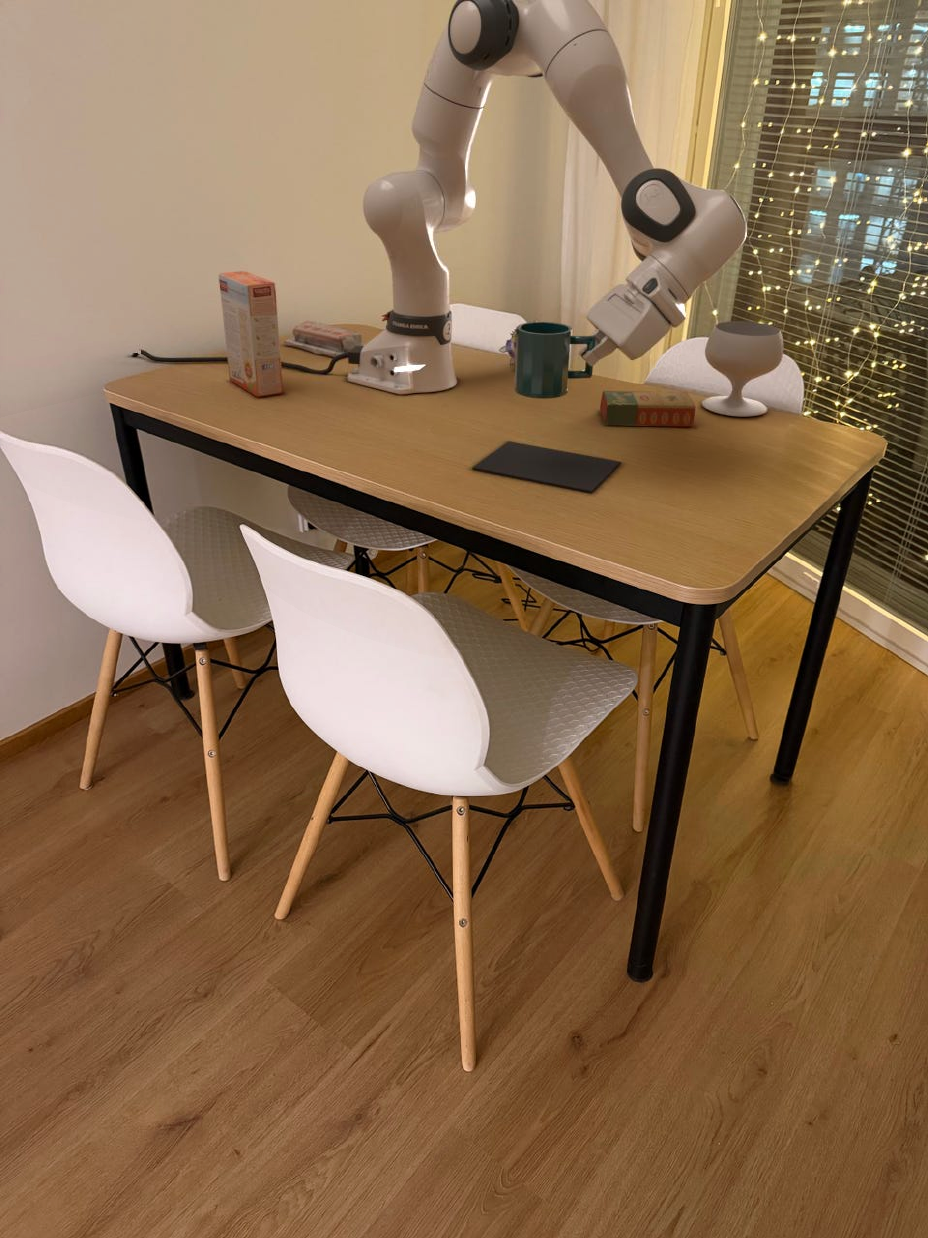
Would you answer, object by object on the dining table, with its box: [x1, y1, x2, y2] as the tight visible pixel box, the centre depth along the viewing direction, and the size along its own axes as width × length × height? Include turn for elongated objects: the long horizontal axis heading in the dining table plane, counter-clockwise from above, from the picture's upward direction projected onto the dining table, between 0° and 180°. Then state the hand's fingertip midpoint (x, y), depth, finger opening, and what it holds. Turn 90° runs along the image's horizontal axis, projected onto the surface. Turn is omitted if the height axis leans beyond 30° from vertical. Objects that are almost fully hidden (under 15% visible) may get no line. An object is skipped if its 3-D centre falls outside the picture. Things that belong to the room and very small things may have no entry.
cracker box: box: [218, 270, 284, 398], centre depth 175 cm, size 14×6×21 cm, turn 34°
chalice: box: [701, 320, 784, 417], centre depth 171 cm, size 14×14×15 cm
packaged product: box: [283, 320, 367, 358], centre depth 206 cm, size 18×5×10 cm
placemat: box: [472, 440, 621, 494], centre depth 146 cm, size 20×14×1 cm
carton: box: [599, 390, 697, 428], centre depth 167 cm, size 8×16×4 cm, turn 88°
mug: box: [513, 321, 595, 400], centre depth 138 cm, size 12×8×10 cm
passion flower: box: [498, 318, 540, 366], centre depth 195 cm, size 11×11×12 cm
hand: (584, 360), depth 139 cm, fingers closed on mug
